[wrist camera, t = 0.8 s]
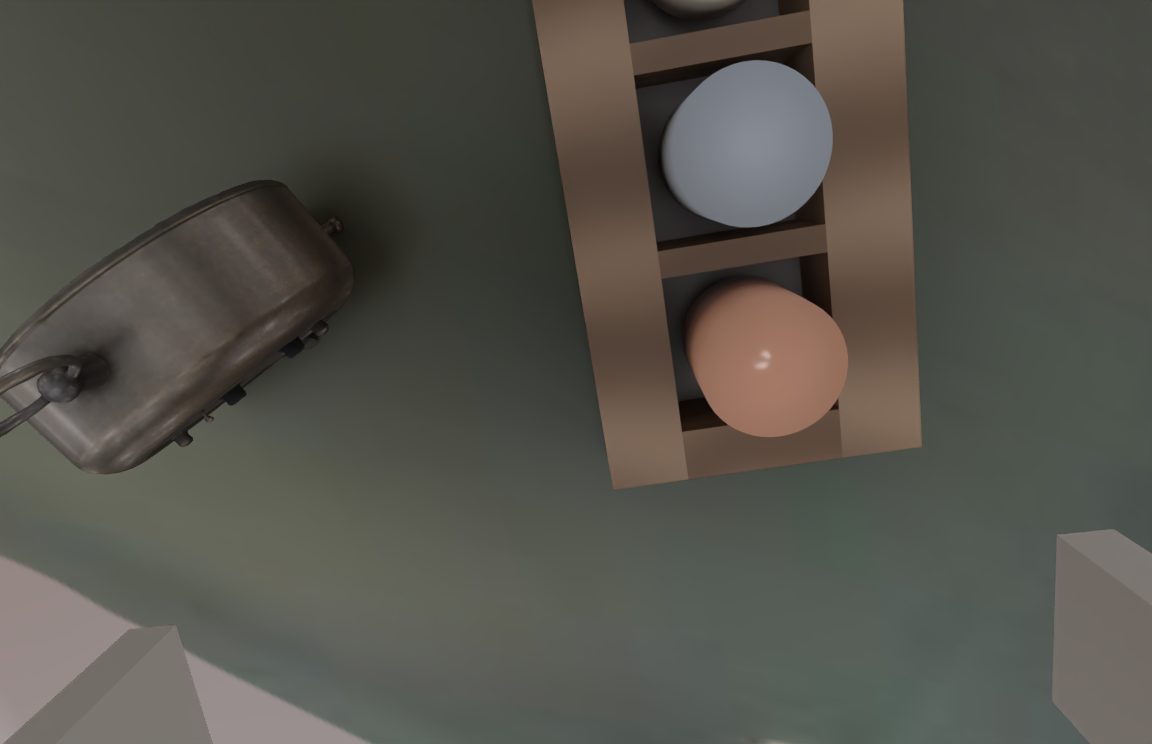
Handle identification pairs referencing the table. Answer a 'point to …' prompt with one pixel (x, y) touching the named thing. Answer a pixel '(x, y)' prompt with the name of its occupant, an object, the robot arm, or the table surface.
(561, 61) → the key block
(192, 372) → the alarm clock
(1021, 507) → the table surface
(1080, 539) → the robot arm
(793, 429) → the pink rounded cylinder
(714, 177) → the blue-grey rounded piece
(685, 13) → the ivory key
